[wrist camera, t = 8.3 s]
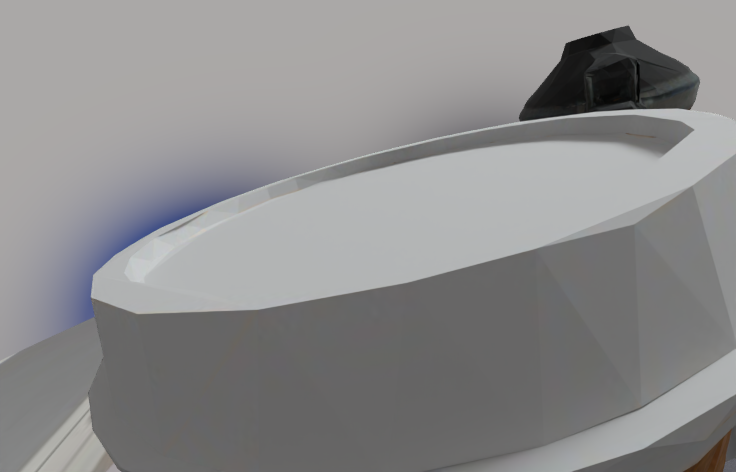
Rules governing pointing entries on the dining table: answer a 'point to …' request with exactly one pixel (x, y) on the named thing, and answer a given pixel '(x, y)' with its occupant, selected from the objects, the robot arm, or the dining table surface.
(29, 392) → the dining table surface
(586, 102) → the beer stein
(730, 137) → the disposable coffee cup
